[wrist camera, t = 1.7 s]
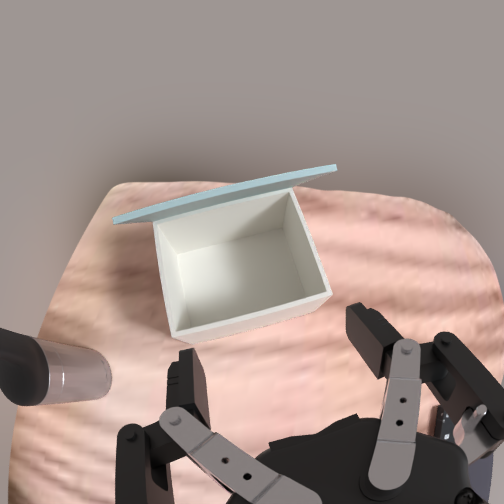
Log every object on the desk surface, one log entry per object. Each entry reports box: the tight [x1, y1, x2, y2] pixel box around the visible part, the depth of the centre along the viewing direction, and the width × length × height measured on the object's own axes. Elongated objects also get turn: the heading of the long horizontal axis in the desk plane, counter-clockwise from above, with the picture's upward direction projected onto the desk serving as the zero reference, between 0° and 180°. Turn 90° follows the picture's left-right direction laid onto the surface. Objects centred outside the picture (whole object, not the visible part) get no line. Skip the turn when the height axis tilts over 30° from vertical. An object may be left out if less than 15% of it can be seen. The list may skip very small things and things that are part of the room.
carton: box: [153, 188, 333, 345], centre depth 41 cm, size 20×16×12 cm
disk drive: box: [434, 405, 456, 444], centre depth 33 cm, size 10×3×15 cm
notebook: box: [468, 453, 493, 502], centre depth 27 cm, size 13×2×21 cm
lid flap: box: [112, 164, 337, 225], centre depth 31 cm, size 20×16×1 cm
